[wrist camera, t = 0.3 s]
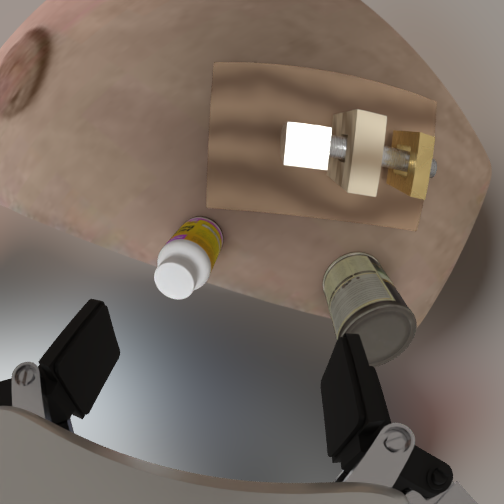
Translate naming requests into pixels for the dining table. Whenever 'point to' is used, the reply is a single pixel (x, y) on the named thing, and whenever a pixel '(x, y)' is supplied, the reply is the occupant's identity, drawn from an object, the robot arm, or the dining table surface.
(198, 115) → the dining table surface
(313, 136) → the crank handle
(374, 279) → the coffee can
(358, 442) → the robot arm
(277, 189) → the bearing stand
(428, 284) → the dining table surface
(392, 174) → the frame
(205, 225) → the supplement bottle
